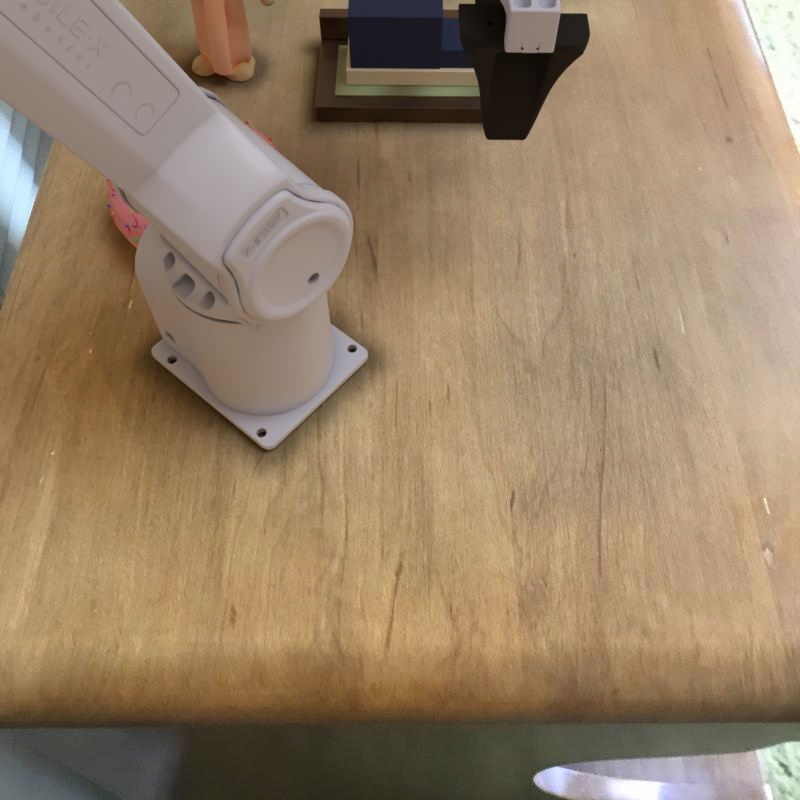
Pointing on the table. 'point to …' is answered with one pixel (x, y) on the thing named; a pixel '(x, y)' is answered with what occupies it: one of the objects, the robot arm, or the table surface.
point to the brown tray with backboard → (382, 87)
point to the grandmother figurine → (223, 39)
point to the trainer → (405, 45)
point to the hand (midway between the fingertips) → (501, 84)
